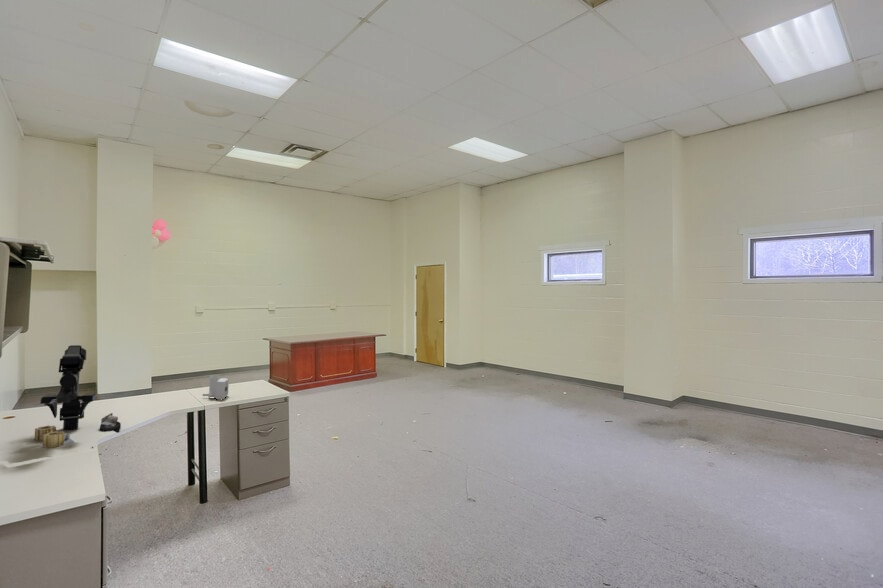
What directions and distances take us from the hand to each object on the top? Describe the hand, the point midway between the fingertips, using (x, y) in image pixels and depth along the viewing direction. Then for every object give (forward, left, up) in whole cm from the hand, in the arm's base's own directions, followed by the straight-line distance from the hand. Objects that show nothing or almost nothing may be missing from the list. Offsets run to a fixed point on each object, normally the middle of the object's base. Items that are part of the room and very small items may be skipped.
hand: (68, 416), depth 200 cm
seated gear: (-7, -6, -10) cm, 13 cm away
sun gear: (0, -2, -10) cm, 10 cm away
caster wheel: (-5, +19, -12) cm, 23 cm away
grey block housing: (-38, +88, -12) cm, 97 cm away
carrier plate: (0, -4, -12) cm, 12 cm away
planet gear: (+6, -6, -10) cm, 13 cm away
